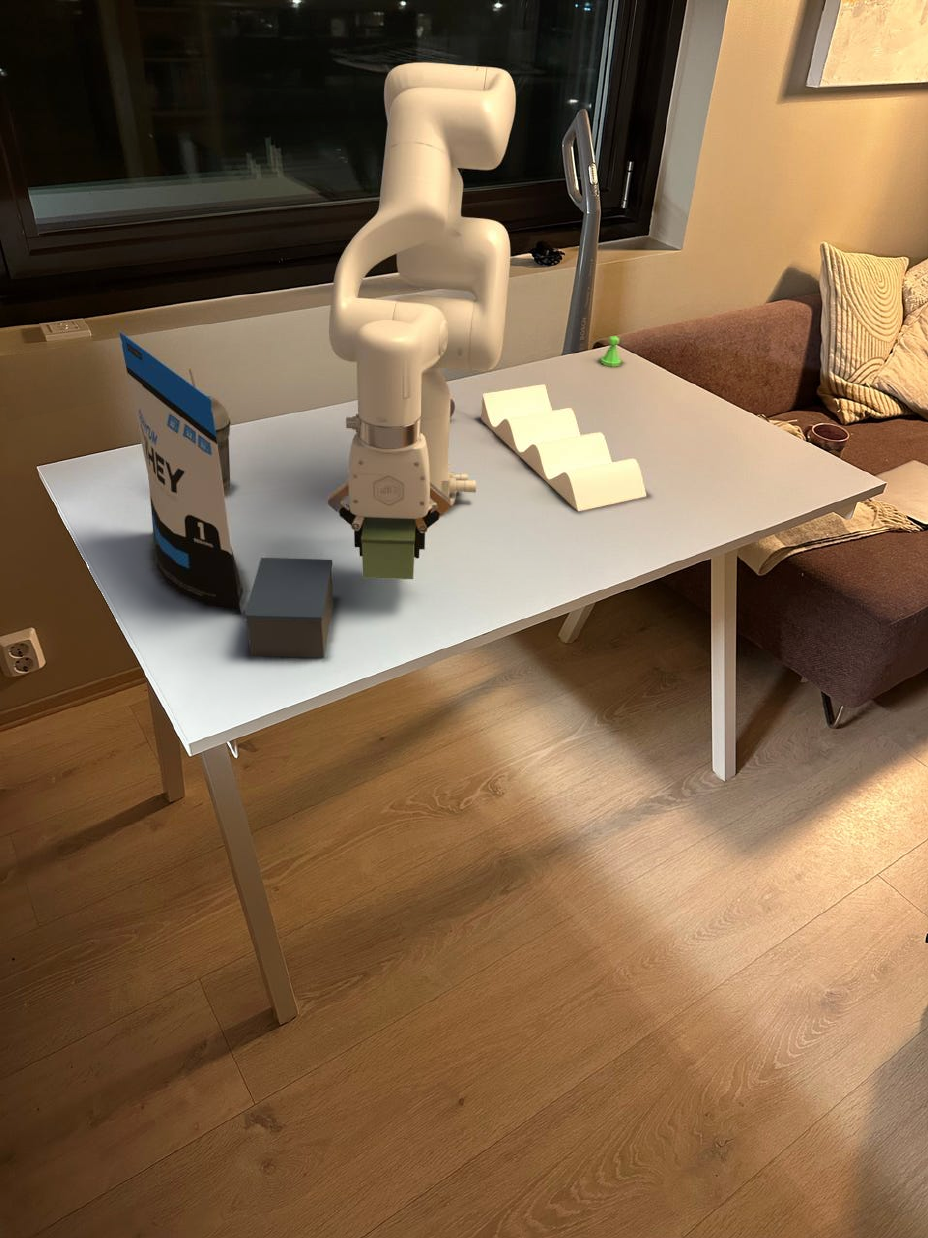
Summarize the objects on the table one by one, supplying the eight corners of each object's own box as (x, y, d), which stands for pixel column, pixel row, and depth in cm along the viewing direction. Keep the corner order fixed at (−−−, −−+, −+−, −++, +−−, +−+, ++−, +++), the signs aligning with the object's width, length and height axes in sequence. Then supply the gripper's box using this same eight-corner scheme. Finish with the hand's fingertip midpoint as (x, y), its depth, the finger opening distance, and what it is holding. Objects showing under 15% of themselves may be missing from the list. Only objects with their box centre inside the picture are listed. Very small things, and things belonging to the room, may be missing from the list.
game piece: (624, 363, 189) (629, 336, 185) (612, 368, 186) (616, 340, 183) (608, 357, 191) (613, 330, 188) (596, 362, 189) (600, 334, 185)
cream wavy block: (578, 511, 140) (582, 483, 136) (481, 419, 164) (482, 393, 161) (646, 496, 144) (652, 468, 141) (542, 409, 169) (545, 384, 166)
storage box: (265, 597, 118) (261, 557, 114) (334, 599, 119) (332, 559, 115) (249, 656, 109) (244, 615, 105) (324, 658, 109) (321, 617, 105)
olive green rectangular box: (367, 535, 122) (366, 498, 118) (416, 537, 122) (416, 499, 118) (361, 578, 113) (360, 539, 110) (413, 579, 114) (414, 540, 110)
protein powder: (189, 522, 132) (154, 324, 113) (272, 601, 118) (249, 389, 99) (128, 542, 127) (81, 339, 108) (207, 627, 113) (169, 409, 94)
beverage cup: (228, 504, 136) (210, 381, 124) (184, 497, 137) (162, 375, 125) (246, 481, 142) (231, 362, 130) (204, 475, 143) (185, 356, 130)
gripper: (313, 439, 103) (321, 565, 114) (461, 444, 104) (455, 569, 115) (321, 412, 109) (327, 534, 120) (460, 417, 110) (454, 538, 121)
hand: (390, 550), depth 117 cm, fingers closed on olive green rectangular box, 6 cm apart
